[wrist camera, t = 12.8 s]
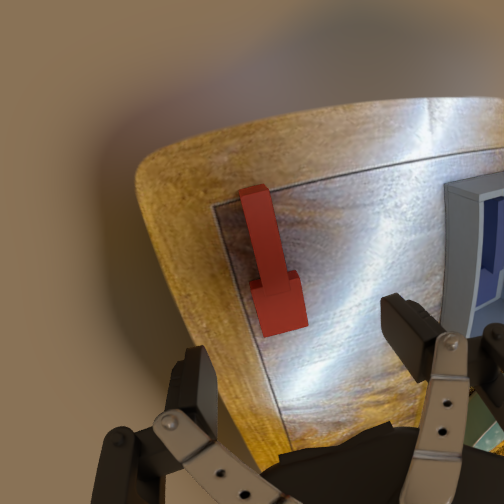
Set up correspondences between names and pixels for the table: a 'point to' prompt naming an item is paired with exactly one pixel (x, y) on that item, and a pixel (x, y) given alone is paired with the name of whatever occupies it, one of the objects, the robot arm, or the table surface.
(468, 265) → the blue bin
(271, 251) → the red stepped block
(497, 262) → the blue bar
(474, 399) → the bowl
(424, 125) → the table surface
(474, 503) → the robot arm
